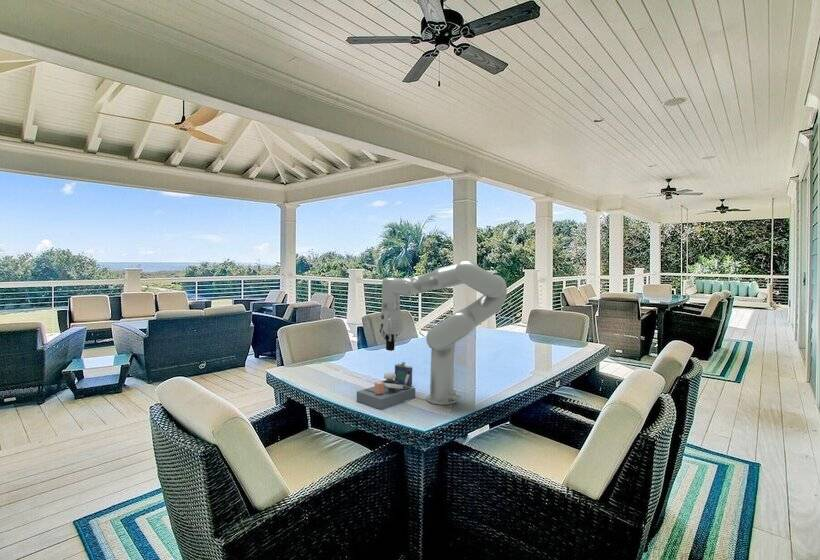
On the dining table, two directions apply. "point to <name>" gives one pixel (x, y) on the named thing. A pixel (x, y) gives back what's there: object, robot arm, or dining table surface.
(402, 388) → the rocker
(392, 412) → the dining table surface
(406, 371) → the toggle lever
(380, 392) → the slider knob
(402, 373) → the flask
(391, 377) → the push button
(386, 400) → the grey low block
